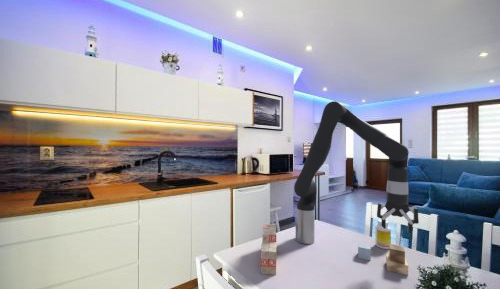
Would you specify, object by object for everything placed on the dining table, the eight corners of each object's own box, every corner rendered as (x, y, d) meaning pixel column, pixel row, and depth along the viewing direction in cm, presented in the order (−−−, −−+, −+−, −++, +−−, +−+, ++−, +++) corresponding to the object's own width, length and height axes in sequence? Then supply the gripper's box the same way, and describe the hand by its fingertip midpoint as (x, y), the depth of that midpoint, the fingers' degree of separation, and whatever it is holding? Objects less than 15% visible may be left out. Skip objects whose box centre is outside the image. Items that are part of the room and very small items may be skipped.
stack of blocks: (276, 275, 85) (276, 244, 85) (260, 274, 86) (260, 243, 86) (276, 249, 106) (276, 224, 106) (263, 248, 107) (263, 223, 107)
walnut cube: (390, 260, 89) (390, 248, 89) (389, 255, 93) (389, 243, 93) (404, 264, 86) (404, 251, 86) (403, 258, 91) (403, 246, 91)
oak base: (387, 270, 89) (387, 261, 89) (386, 262, 95) (386, 253, 95) (408, 275, 85) (408, 265, 85) (405, 267, 91) (405, 257, 91)
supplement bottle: (393, 250, 105) (393, 223, 105) (378, 248, 107) (378, 222, 107) (387, 244, 112) (387, 219, 112) (373, 242, 113) (373, 218, 113)
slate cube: (358, 257, 98) (358, 246, 98) (358, 253, 103) (358, 242, 103) (370, 260, 96) (370, 249, 96) (370, 255, 100) (370, 244, 100)
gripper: (377, 191, 90) (376, 229, 90) (420, 195, 83) (419, 237, 83) (377, 188, 97) (376, 224, 97) (416, 192, 90) (416, 230, 90)
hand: (396, 230), depth 90 cm, fingers open, 8 cm apart
